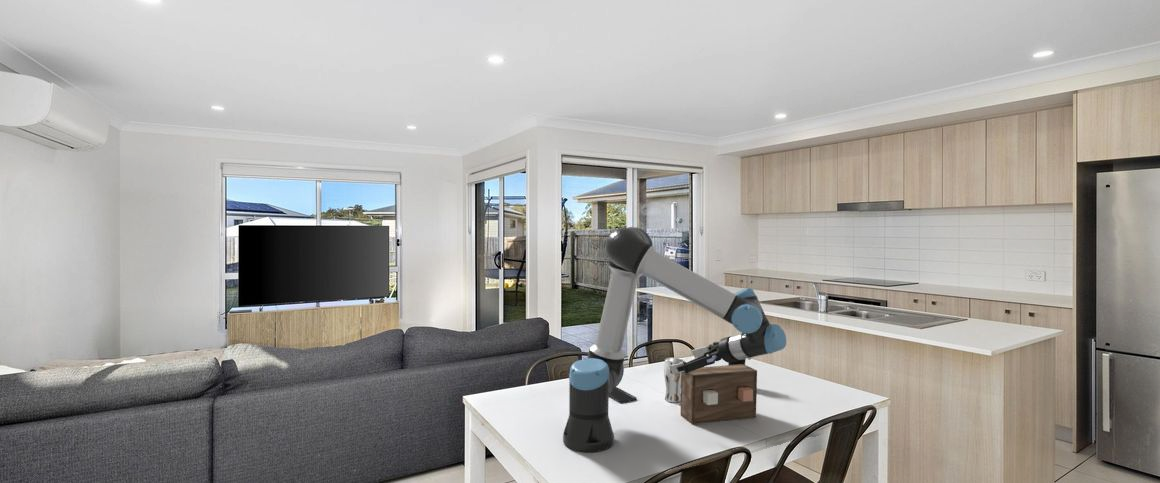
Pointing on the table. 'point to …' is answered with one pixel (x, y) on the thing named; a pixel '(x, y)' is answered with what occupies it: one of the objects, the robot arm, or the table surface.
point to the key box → (726, 387)
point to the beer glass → (672, 381)
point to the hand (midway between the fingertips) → (682, 361)
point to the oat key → (709, 397)
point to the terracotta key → (744, 393)
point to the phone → (621, 396)
